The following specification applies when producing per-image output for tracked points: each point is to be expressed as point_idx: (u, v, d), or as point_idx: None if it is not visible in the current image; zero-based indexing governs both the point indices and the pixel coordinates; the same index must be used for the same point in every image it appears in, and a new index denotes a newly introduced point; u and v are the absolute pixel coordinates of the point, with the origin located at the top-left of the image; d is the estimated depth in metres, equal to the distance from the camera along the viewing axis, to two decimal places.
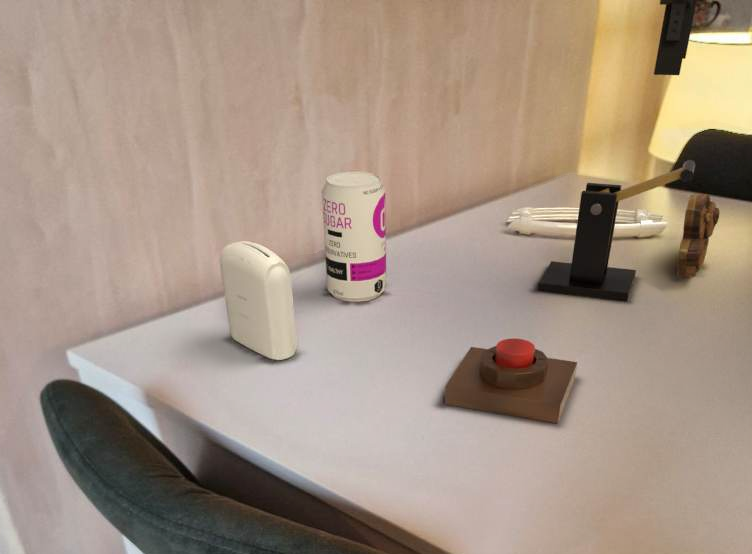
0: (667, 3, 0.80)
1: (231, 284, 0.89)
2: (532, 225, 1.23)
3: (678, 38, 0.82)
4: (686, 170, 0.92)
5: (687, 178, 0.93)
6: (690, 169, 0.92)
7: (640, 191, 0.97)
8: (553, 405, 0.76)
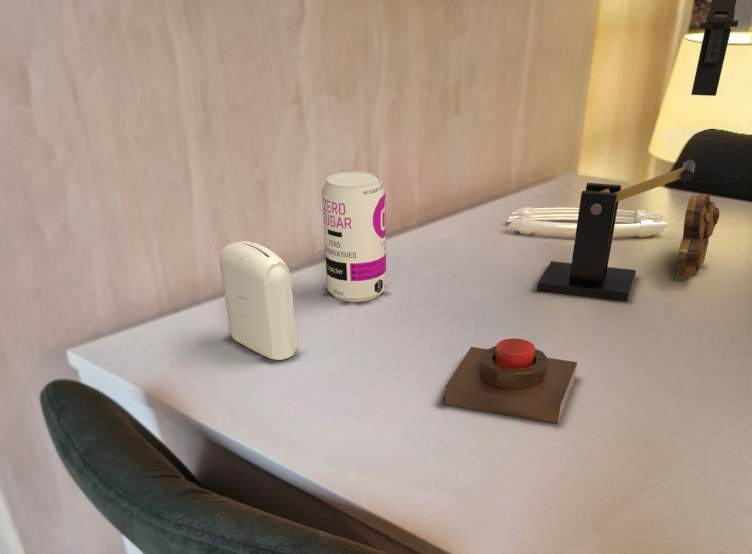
0: (706, 28, 0.85)
1: (231, 284, 0.89)
2: (532, 225, 1.23)
3: (716, 61, 0.85)
4: (686, 170, 0.92)
5: (687, 178, 0.93)
6: (690, 169, 0.92)
7: (640, 191, 0.97)
8: (553, 405, 0.76)
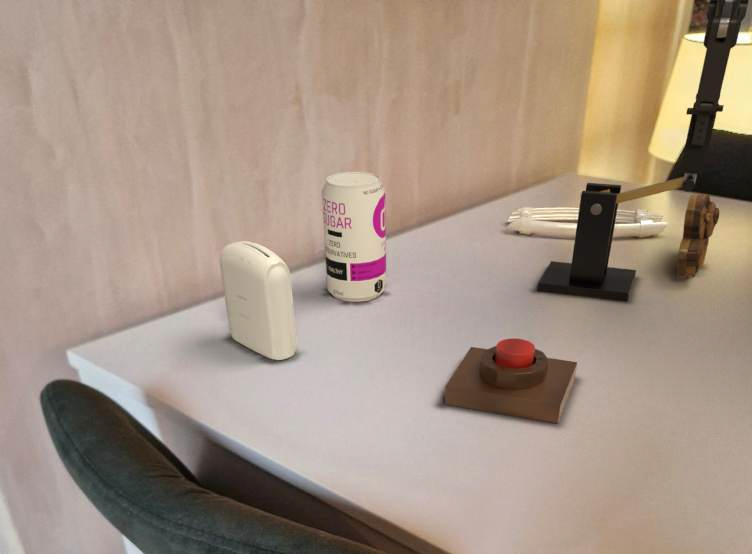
0: (693, 114, 0.90)
1: (231, 284, 0.89)
2: (532, 225, 1.23)
3: (702, 144, 0.90)
4: (688, 180, 0.93)
5: (688, 188, 0.93)
6: (692, 179, 0.93)
7: (641, 196, 0.97)
8: (553, 405, 0.76)
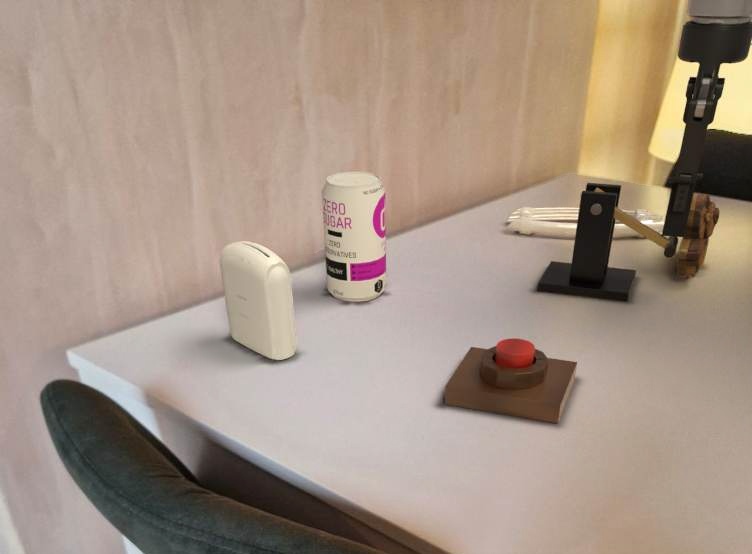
0: (674, 182, 0.94)
1: (231, 284, 0.89)
2: (532, 225, 1.23)
3: (683, 210, 0.95)
4: (673, 249, 0.98)
5: (668, 255, 0.98)
6: (675, 250, 0.98)
7: (631, 227, 1.00)
8: (553, 405, 0.76)
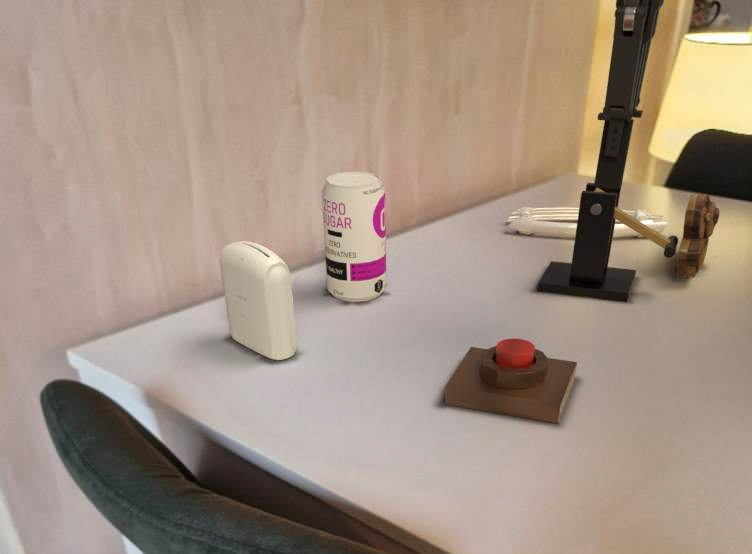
0: (605, 120, 0.77)
1: (231, 284, 0.89)
2: (532, 225, 1.23)
3: (616, 154, 0.78)
4: (673, 249, 0.98)
5: (668, 255, 0.98)
6: (675, 250, 0.98)
7: (631, 227, 1.00)
8: (553, 405, 0.76)
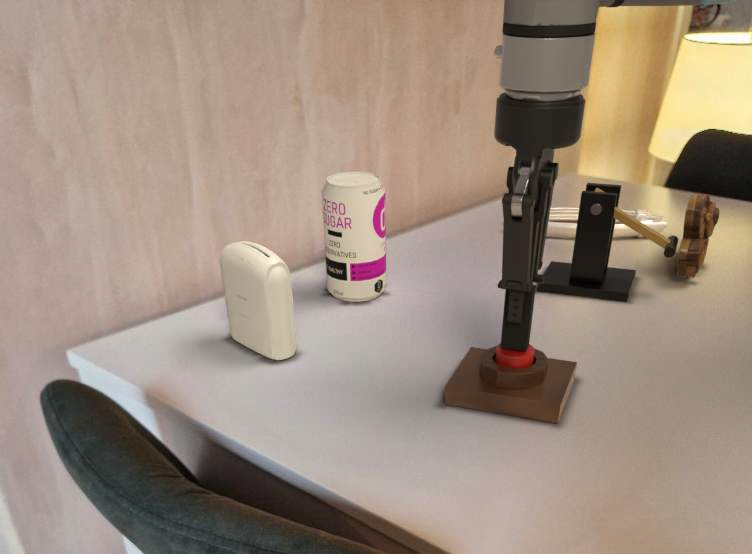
0: None
1: (231, 284, 0.89)
2: None
3: (519, 321, 0.76)
4: (673, 249, 0.98)
5: (668, 255, 0.98)
6: (675, 250, 0.98)
7: (631, 227, 1.00)
8: (553, 405, 0.76)
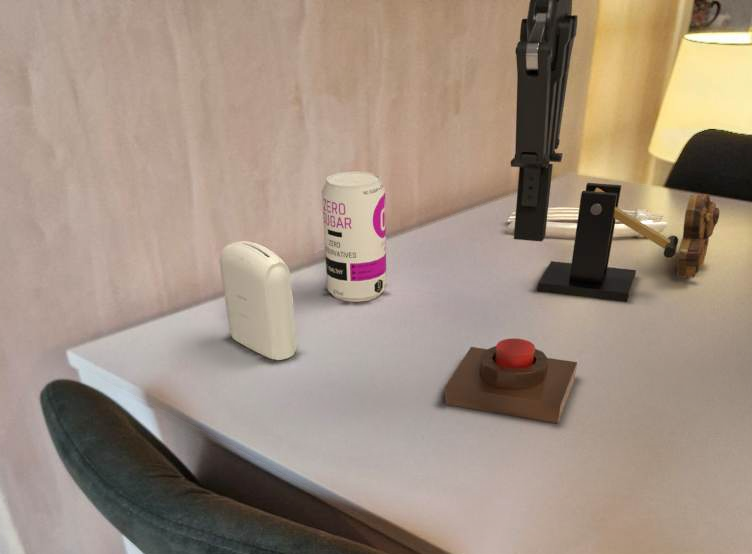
0: (520, 166, 0.68)
1: (231, 284, 0.89)
2: None
3: (535, 204, 0.69)
4: (673, 249, 0.98)
5: (668, 255, 0.98)
6: (675, 250, 0.98)
7: (631, 227, 1.00)
8: (553, 405, 0.76)
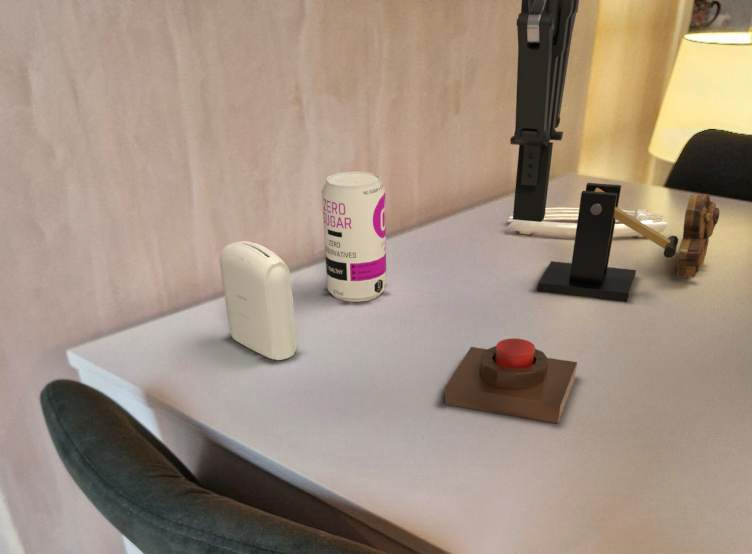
0: (520, 144, 0.67)
1: (231, 284, 0.89)
2: (532, 225, 1.23)
3: (534, 183, 0.68)
4: (673, 249, 0.98)
5: (668, 255, 0.98)
6: (675, 250, 0.98)
7: (631, 227, 1.00)
8: (553, 405, 0.76)
